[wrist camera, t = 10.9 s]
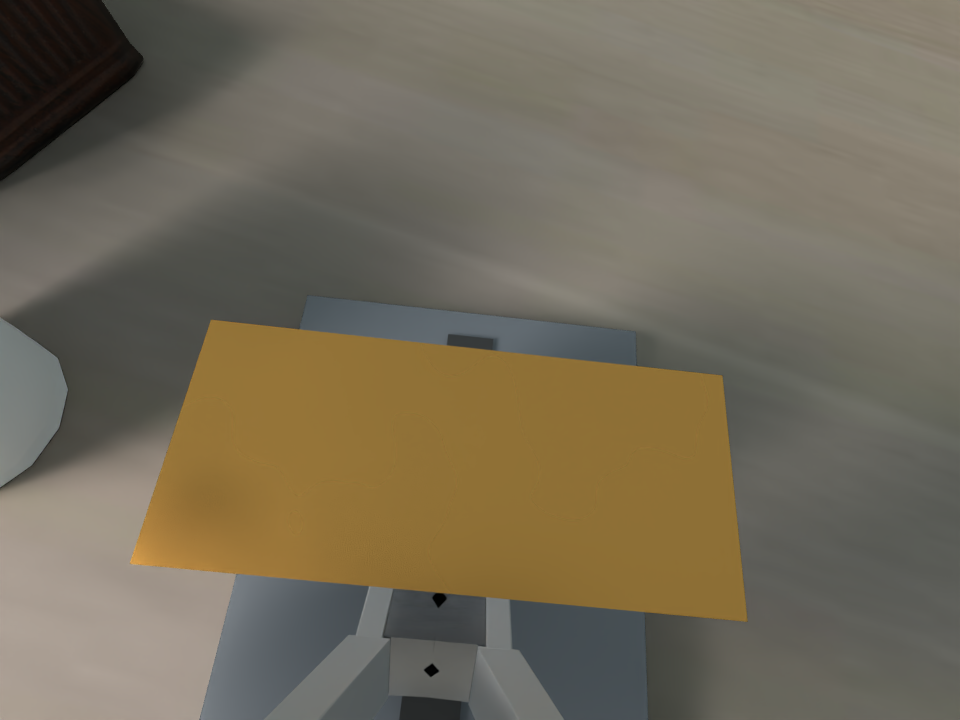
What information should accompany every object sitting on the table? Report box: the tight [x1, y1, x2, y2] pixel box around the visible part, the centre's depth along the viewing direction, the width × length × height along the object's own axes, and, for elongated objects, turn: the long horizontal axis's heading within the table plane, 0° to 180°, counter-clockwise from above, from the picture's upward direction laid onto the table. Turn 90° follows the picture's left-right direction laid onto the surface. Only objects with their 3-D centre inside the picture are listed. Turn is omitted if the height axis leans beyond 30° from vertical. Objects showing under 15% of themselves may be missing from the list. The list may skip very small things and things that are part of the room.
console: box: [199, 295, 648, 720], centre depth 13 cm, size 24×12×2 cm, turn 175°
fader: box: [130, 320, 748, 622], centre depth 10 cm, size 3×7×9 cm, turn 85°
